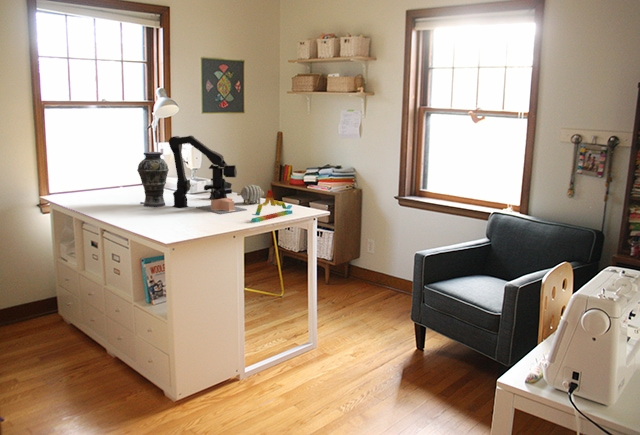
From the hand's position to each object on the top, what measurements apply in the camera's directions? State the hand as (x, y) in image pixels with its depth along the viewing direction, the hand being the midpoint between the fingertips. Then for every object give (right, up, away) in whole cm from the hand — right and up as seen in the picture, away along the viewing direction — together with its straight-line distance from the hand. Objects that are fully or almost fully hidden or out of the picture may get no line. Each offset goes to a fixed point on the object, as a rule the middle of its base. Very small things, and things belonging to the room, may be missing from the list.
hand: (217, 204), depth 338 cm
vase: (-37, -1, +4) cm, 37 cm away
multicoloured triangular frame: (+32, -8, -21) cm, 39 cm away
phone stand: (-5, +4, +30) cm, 30 cm away
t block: (+5, -3, -5) cm, 7 cm away
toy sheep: (+17, +1, +17) cm, 24 cm away
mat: (+2, -3, -2) cm, 4 cm away
